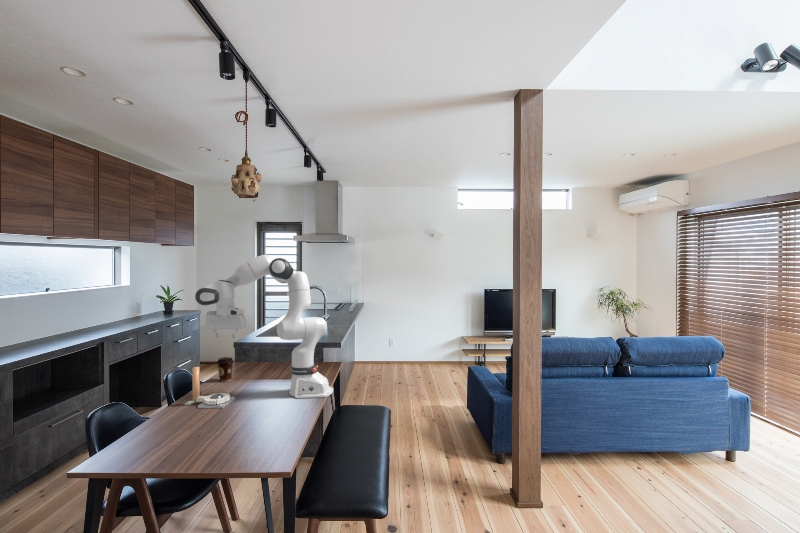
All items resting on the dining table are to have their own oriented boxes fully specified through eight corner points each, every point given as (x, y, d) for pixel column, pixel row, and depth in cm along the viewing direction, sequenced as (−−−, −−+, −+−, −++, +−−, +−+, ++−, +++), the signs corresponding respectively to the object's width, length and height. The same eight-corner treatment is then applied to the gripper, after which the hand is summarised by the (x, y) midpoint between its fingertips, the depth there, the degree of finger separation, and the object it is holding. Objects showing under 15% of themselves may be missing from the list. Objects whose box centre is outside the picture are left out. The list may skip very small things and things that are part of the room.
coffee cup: (219, 383, 218) (219, 360, 218) (215, 380, 225) (214, 358, 225) (235, 380, 224) (235, 358, 224) (230, 377, 230) (230, 355, 230)
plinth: (235, 399, 192) (234, 391, 192) (222, 408, 180) (222, 399, 180) (211, 399, 193) (211, 391, 193) (197, 408, 181) (197, 399, 181)
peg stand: (233, 396, 192) (232, 364, 192) (223, 404, 181) (222, 370, 181) (199, 396, 192) (198, 364, 192) (186, 404, 181) (186, 370, 181)
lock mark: (195, 401, 189) (195, 401, 189) (190, 404, 185) (190, 404, 185) (189, 401, 189) (189, 401, 189) (184, 404, 185) (184, 403, 185)
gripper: (202, 311, 199) (203, 338, 199) (241, 311, 198) (241, 338, 198) (209, 310, 205) (209, 336, 205) (247, 310, 204) (247, 336, 204)
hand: (225, 337), depth 202 cm, fingers open, 8 cm apart
